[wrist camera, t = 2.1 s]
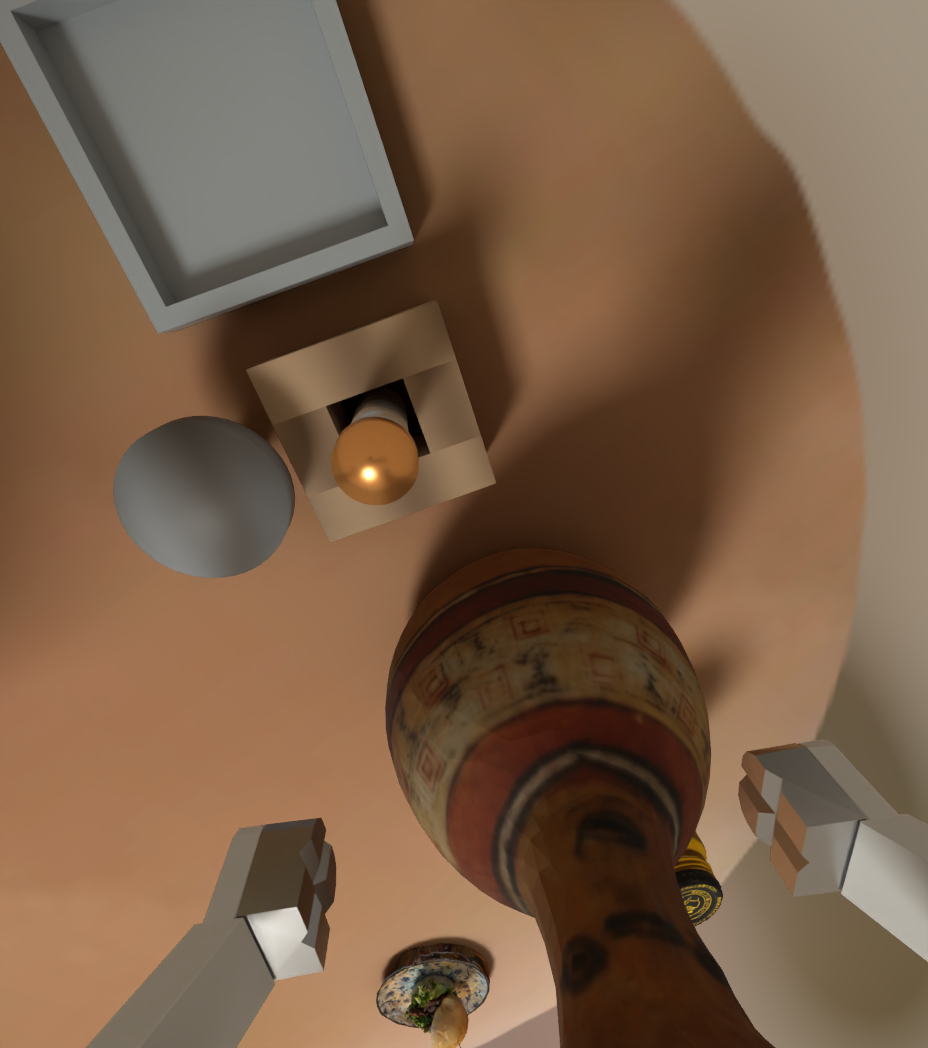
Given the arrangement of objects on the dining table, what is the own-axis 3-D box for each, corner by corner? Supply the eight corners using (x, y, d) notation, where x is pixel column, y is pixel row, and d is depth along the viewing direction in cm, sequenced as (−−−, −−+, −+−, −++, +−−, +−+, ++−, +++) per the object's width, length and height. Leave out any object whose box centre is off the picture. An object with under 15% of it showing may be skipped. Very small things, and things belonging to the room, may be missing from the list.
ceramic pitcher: (627, 495, 37) (1324, 1065, 9) (649, 712, 45) (1053, 1361, 17) (352, 564, 36) (220, 1388, 9) (424, 771, 44) (473, 1538, 17)
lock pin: (365, 449, 33) (352, 517, 23) (342, 394, 32) (316, 439, 21) (419, 429, 33) (431, 488, 23) (398, 374, 32) (400, 408, 21)
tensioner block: (224, 551, 35) (181, 614, 28) (139, 407, 31) (63, 437, 24) (482, 459, 34) (505, 498, 27) (430, 300, 30) (441, 300, 23)
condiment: (643, 725, 45) (723, 860, 34) (672, 785, 49) (753, 926, 38) (566, 761, 46) (621, 906, 35) (600, 818, 49) (660, 966, 38)
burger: (384, 940, 53) (383, 1036, 46) (498, 939, 55) (513, 1030, 48) (369, 1011, 57) (366, 1108, 50) (476, 1007, 59) (486, 1099, 52)
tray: (175, 331, 29) (158, 333, 27) (10, 17, 24) (-29, -12, 22) (412, 244, 29) (413, 239, 27) (302, -92, 24) (292, -134, 21)
